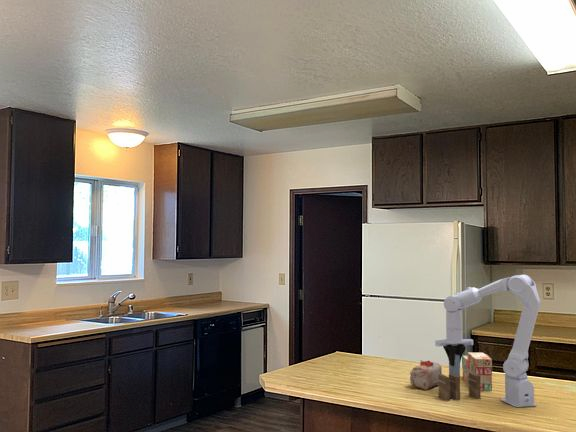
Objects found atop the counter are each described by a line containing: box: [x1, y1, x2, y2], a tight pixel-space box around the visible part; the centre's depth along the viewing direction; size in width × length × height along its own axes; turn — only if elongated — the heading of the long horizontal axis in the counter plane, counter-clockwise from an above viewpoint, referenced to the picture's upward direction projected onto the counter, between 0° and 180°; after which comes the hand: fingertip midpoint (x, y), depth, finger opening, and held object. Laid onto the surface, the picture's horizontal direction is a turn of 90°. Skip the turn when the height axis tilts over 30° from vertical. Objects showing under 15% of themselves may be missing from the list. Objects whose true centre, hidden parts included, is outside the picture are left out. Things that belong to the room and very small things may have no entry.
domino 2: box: [448, 373, 461, 401], centre depth 204 cm, size 2×5×8 cm, turn 14°
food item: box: [409, 359, 443, 391], centre depth 221 cm, size 14×8×10 cm, turn 139°
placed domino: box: [448, 354, 461, 378], centre depth 212 cm, size 2×5×8 cm, turn 14°
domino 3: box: [468, 373, 482, 400], centre depth 206 cm, size 2×5×8 cm, turn 13°
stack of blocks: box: [461, 351, 493, 393], centre depth 224 cm, size 21×6×12 cm, turn 176°
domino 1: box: [438, 373, 451, 402], centre depth 203 cm, size 2×5×8 cm, turn 14°
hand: (454, 365), depth 211 cm, fingers closed on placed domino, 2 cm apart
